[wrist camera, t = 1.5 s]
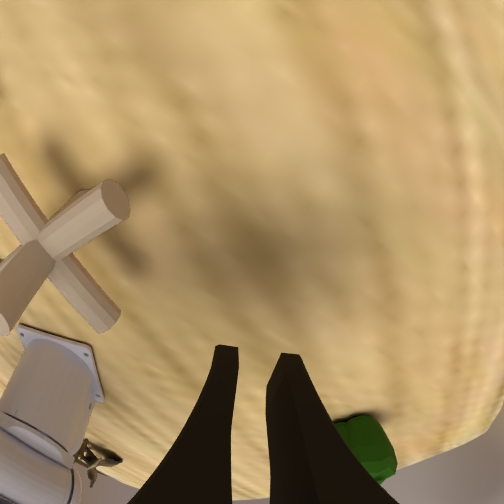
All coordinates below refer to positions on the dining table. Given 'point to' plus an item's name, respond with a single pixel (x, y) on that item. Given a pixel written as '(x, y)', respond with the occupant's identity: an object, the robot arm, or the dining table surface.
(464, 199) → the dining table surface
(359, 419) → the bell pepper
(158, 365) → the dining table surface
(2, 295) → the pipe connector
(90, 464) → the eagle figurine
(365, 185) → the dining table surface
